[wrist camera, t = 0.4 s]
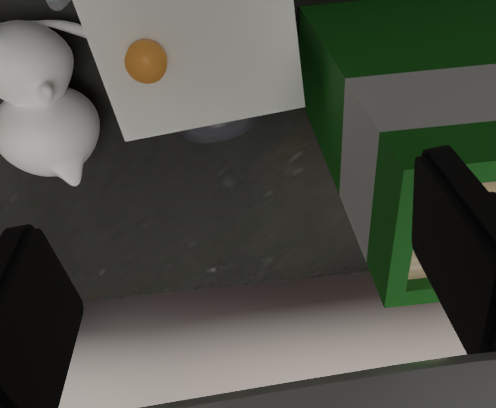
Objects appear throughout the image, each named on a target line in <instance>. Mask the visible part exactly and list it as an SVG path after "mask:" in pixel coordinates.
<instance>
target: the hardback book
mask: <svg viewBox="0 0 496 408" xmlns="http://www.w3.org/2000/svg"><path fill="white" fill-rule="evenodd" d="M299 55H300V64H301V73H302V82H303V90H304V99H305V107H304V108H305V110H306V113H307V115H308V118H309V120H310V123H311V125H312V128H313V130H314V133H315V135H316V138H317V140H318V143H319V145H320V148H321V150H322V153H323V155H324V158H325V160H326V163H327V165H328V168H329V170H330V173H331V175H332V178H333V180H334V183H335V185H336V188H337V190H338V193H339V195H340V198H341V200H342V203H343V205H344V208H345V211H346V213H347V216H348V218H349V221H350V223H351V226H352V228H353V231H354V233H355V236H356V238H357V241H358V243H359V246H360V248H361V251H362V253H363V256H364V258H365V261H366V263H367V266H368V268H369V271H370V273H371V276H372V278H373V281H374V283H375V286H376V288H377V291H378V293H379V296H380V298H381V301H382V303H383V306H384V308H387V307H396V306H406V305H415V304H424V303H434V302H440V301H439V299H438V297H437V295H436V293H435V291H434V290H433V288H432V286H431V284H430V282H429V280H428V278H427V276H426V274H425V272H424V271H423V269H422V267H421V265H420V263H419V261H418V259H417V257H416V255H415V253H414V250H413V247H412V213H413V188H414V163H415V158H416V157H418V156H421V155H422V152H423V150H424V149H428V148H433V147H439V146H444V145H449V146H450V147H452V149H453V150H454V151H455V152H456V153H457V155H458V156H459V157H460V158H461V159H462V161H463V162H464V163H465V164H466V165H467V166H468V168H469V169H470V170H471V171H472V172H473V174H474V175H475V176H476V177H477V178H478V180H479V181H480V182H481V183H482V184H483V186H484V187H485V188H486V189H487V190H488V191H489V192H496V0H359V1H349V2H338V3H328V4H317V5H307V6H299Z"/></svg>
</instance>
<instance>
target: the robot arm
mask: <svg viewBox="0 0 496 408" xmlns="http://www.w3.org/2000/svg"><path fill="white" fill-rule="evenodd" d="M412 247H413V250H414V253H415V255H416V257H417V259H418V261H419V263H420V265H421V267H422V269H423V271H424V272H425V274H426V276H427V278H428V280H429V282H430V284H431V286H432V288H433V290H434V291H435V293H436V295H437V297H438V299H439V301H440V303H441V305H442V307H443V309H444V310H445V312H446V314H447V316H448V318H449V320H450V322H451V324H452V326H453V328H454V330H455V331H456V333H457V335H458V337H459V339H460V341H461V343H462V345H463V347H464V349H465V350H466V352H467V354H468V355H461V356H454V357H447V358H440V359H434V360H427V361H420V362H413V363H406V364H400V365H393V366H387V367H381V368H375V369H368V370H362V371H356V372H350V373H344V374H338V375H332V376H326V377H320V378H313V379H307V380H301V381H295V382H289V383H283V384H278V385H271V386H265V387H259V388H253V389H247V390H241V391H235V392H230V393H224V394H218V395H212V396H206V397H200V398H194V399H189V400H182V401H176V402H170V403H165V404H159V405H153V406H147V407H141V408H496V192H489V191H488V190H487V189H486V188H485V187H484V186H483V184H482V183H481V182H480V181H479V180H478V178H477V177H476V176H475V175H474V174H473V172H472V171H471V170H470V169H469V168H468V166H467V165H466V164H465V163H464V162H463V161H462V159H461V158H460V157H459V156H458V155H457V153H456V152H455V151H454V150H453V149H452V147H450V146H449V145H444V146H439V147H433V148H428V149H424V150H423V152H422V155H421V156H418V157H416V158H415V163H414V188H413V213H412ZM82 316H83V302H82V300H81V298H80V296H79V294H78V292H77V291H76V289H75V287H74V285H73V284H72V282H71V280H70V279H69V277H68V275H67V273H66V272H65V270H64V268H63V266H62V265H61V263H60V261H59V259H58V258H57V256H56V254H55V252H54V251H53V249H52V247H51V245H50V244H49V242H48V240H47V239H46V237H45V235H44V233H43V232H42V230H40V229H38V228H37V229H35V228H34V227H33V226H32V225H29V224H27V225H22V226H16V227H11V228H7V229H5V230H4V231H3V232H2V234H1V236H0V408H58V406H59V403H60V399H61V395H62V391H63V387H64V384H65V380H66V376H67V372H68V369H69V365H70V361H71V357H72V354H73V350H74V346H75V342H76V338H77V335H78V331H79V327H80V323H81V319H82Z"/></svg>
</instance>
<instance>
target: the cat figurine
mask: <svg viewBox="0 0 496 408" xmlns="http://www.w3.org/2000/svg"><path fill="white" fill-rule="evenodd" d="M48 27H52V28H55V29H59V30H62V31H65V32H68V33H71V34H74V35H77V36H81V37H84V38H86V35H85V33H84V30H83V27H82V25H81V24H78V23H75V22H69V21H63V20H37V21H26V20H12V21H6V22H2V23H0V98H1V99H2V100H4V101H3V102H2V103H1V104H0V154H1V155H2V156H3V157H4V158H5V159H6V160H7V161H9V162H10V163H11V164H13V165H14V166H16V167H18V168H19V169H21V170H23V171H26V172H28V173H31V174H35V175H39V176H58V177H60V178H62V179H63V180H64V181H66V182H67V183H68V184H70V185H72V186H77V185H78V184H79V183H80V181H81V177H82V168H83V163H84V162H85V161H86V160H87V159H88V158H89V156H90V155H91V153H92V152H93V150H94V148H95V146H96V143H97V141H98V137H99V132H100V121H99V116H98V113H97V110H96V108H95V106H94V105H93V104H92V102H91V101H90V100H89V99H88V98H87V97H86V96H84V95H83V94H82V93H80V92H78V91H76V90H74V89H72V88H69V87H68V85H69V82H70V79H71V76H72V72H73V65H74V59H73V53H72V51H71V48H70V47H69V45H68V44H67V42H66V41H65V40H64V39H63V38H62V37H61V36H60V35H58V34H57V33H56V32H54V31H53V30H51V29H50V28H48Z"/></svg>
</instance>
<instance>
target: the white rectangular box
mask: <svg viewBox="0 0 496 408" xmlns="http://www.w3.org/2000/svg"><path fill="white" fill-rule="evenodd" d="M72 1H73V3H74V6H75V9H76V11H77V14H78V17H79V19H80V22H81V25H82V27H83V30H84V33H85V35H86V38H87V41H88V43H89V46H90V49H91V51H92V54H93V57H94V59H95V62H96V65H97V68H98V70H99V73H100V76H101V78H102V81H103V84H104V86H105V89H106V92H107V94H108V97H109V100H110V102H111V105H112V108H113V110H114V113H115V116H116V118H117V121H118V124H119V126H120V129H121V132H122V134H123V137H124V140H125V142H127V141H132V140H137V139H142V138H147V137H153V136H158V135H163V134H168V133H173V132H178V133H179V135H180V136H181V137H182V138H183V139H185V140H187V141H190V142H195V143H215V142H221V141H225V140H229V139H232V138H235V137H238V136H240V135H242V134H244V133H246V132H248V131H249V130H251V129H252V128H253V127H255V126H256V125H257V124H258V122H259V121H260V119H261V115H267V114H272V113H277V112H282V111H287V110H293V109H298V108H303V107H305V99H304V90H303V82H302V73H301V64H300V55H299V46H298V37H297V28H296V19H295V10H294V1H293V0H72Z"/></svg>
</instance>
